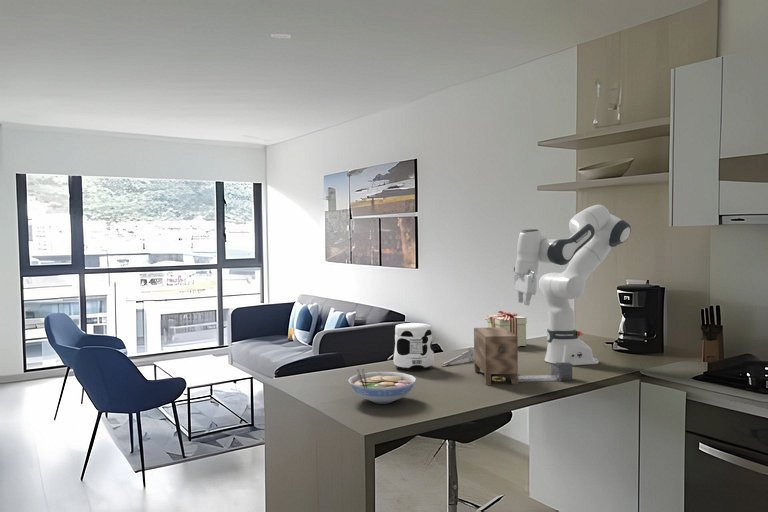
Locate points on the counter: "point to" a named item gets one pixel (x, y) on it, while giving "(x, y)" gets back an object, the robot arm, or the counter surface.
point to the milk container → (413, 346)
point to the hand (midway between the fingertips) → (523, 303)
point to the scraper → (552, 374)
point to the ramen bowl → (382, 386)
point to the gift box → (510, 324)
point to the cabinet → (496, 353)
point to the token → (498, 378)
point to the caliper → (462, 356)
